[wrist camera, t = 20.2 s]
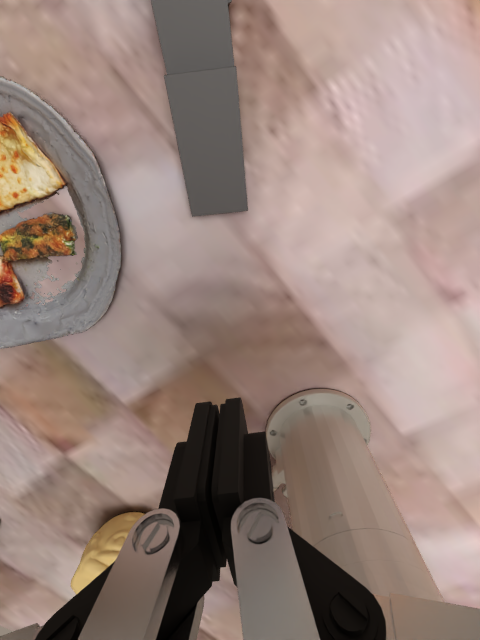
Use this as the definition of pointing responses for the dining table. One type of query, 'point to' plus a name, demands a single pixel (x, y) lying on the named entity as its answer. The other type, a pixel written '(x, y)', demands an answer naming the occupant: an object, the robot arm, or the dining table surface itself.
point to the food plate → (50, 223)
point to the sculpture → (103, 549)
